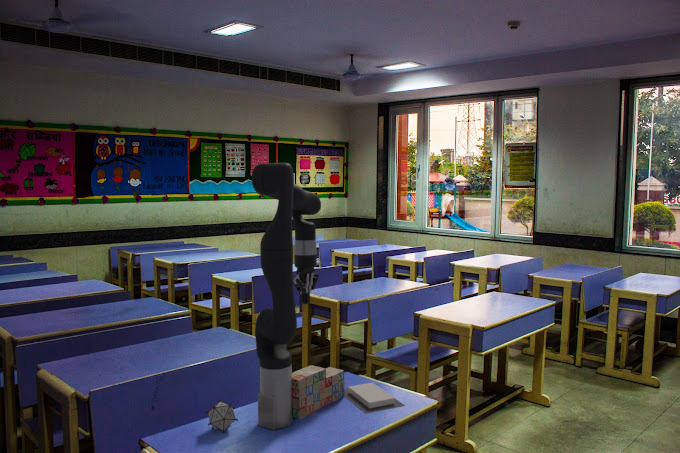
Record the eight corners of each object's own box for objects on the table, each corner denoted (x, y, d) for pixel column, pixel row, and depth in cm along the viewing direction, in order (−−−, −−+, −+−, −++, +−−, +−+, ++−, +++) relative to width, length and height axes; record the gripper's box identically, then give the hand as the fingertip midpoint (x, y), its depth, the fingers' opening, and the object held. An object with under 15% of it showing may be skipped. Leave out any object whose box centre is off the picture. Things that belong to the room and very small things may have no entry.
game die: (218, 440, 156) (214, 405, 161) (244, 431, 155) (240, 396, 160) (202, 436, 149) (198, 400, 154) (229, 427, 147) (225, 391, 152)
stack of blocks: (330, 393, 181) (330, 357, 181) (344, 398, 178) (344, 361, 177) (284, 414, 165) (284, 374, 164) (299, 420, 161) (299, 379, 160)
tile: (348, 386, 180) (369, 402, 167) (372, 382, 184) (394, 397, 171) (348, 392, 181) (369, 409, 167) (372, 388, 184) (394, 404, 171)
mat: (336, 391, 183) (336, 390, 183) (373, 385, 189) (373, 383, 189) (365, 415, 164) (365, 413, 164) (405, 407, 170) (405, 405, 170)
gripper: (302, 255, 177) (302, 308, 178) (325, 251, 188) (326, 301, 189) (284, 254, 181) (285, 305, 182) (308, 250, 192) (308, 299, 193)
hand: (305, 303), depth 186 cm, fingers closed
